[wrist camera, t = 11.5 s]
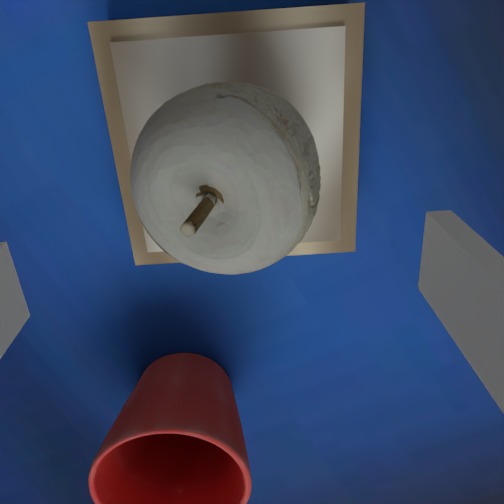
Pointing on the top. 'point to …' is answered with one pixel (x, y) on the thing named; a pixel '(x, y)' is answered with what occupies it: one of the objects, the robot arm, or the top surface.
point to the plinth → (243, 71)
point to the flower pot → (175, 440)
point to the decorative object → (226, 177)
